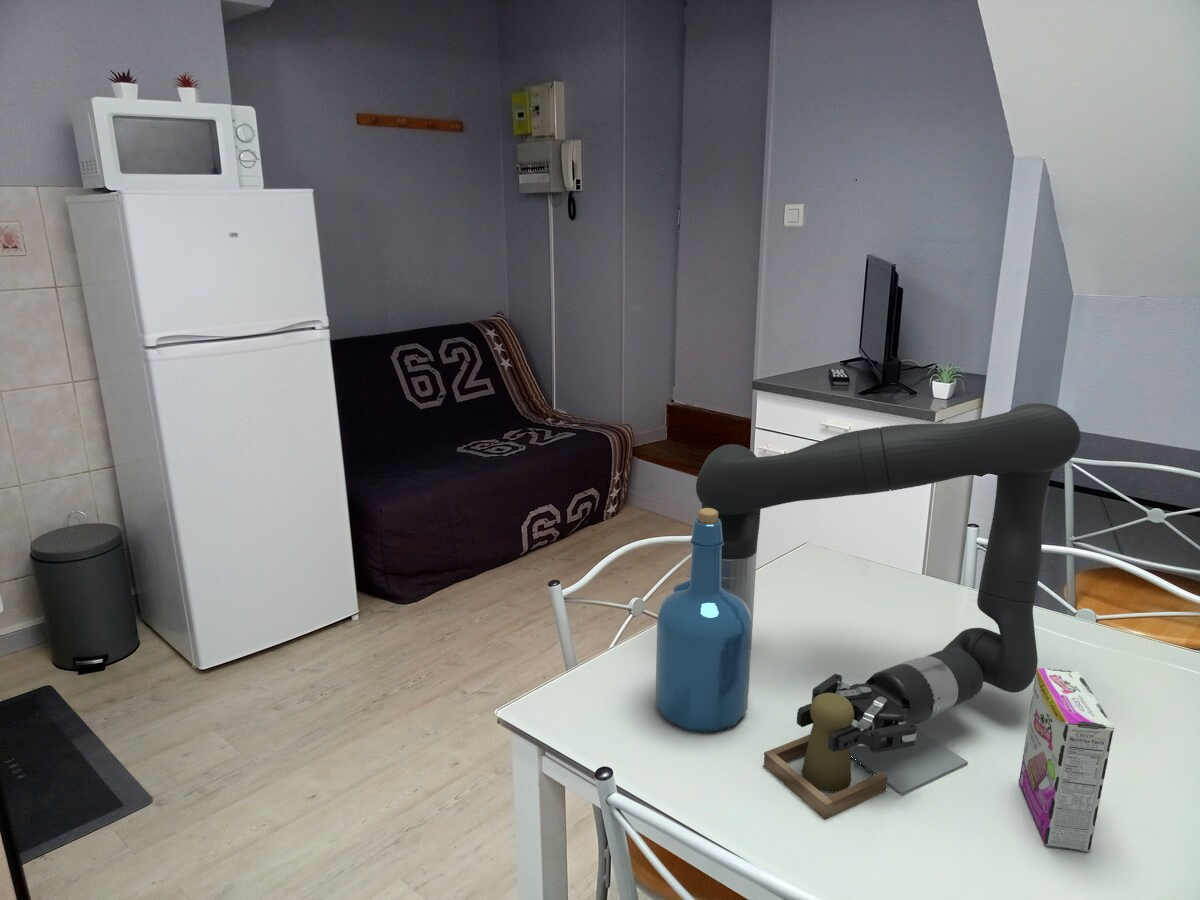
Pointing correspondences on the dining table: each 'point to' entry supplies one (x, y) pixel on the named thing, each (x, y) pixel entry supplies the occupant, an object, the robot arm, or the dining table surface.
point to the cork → (820, 761)
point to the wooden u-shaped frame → (811, 795)
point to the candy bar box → (1065, 758)
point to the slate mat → (909, 762)
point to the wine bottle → (703, 641)
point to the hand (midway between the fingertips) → (815, 730)
